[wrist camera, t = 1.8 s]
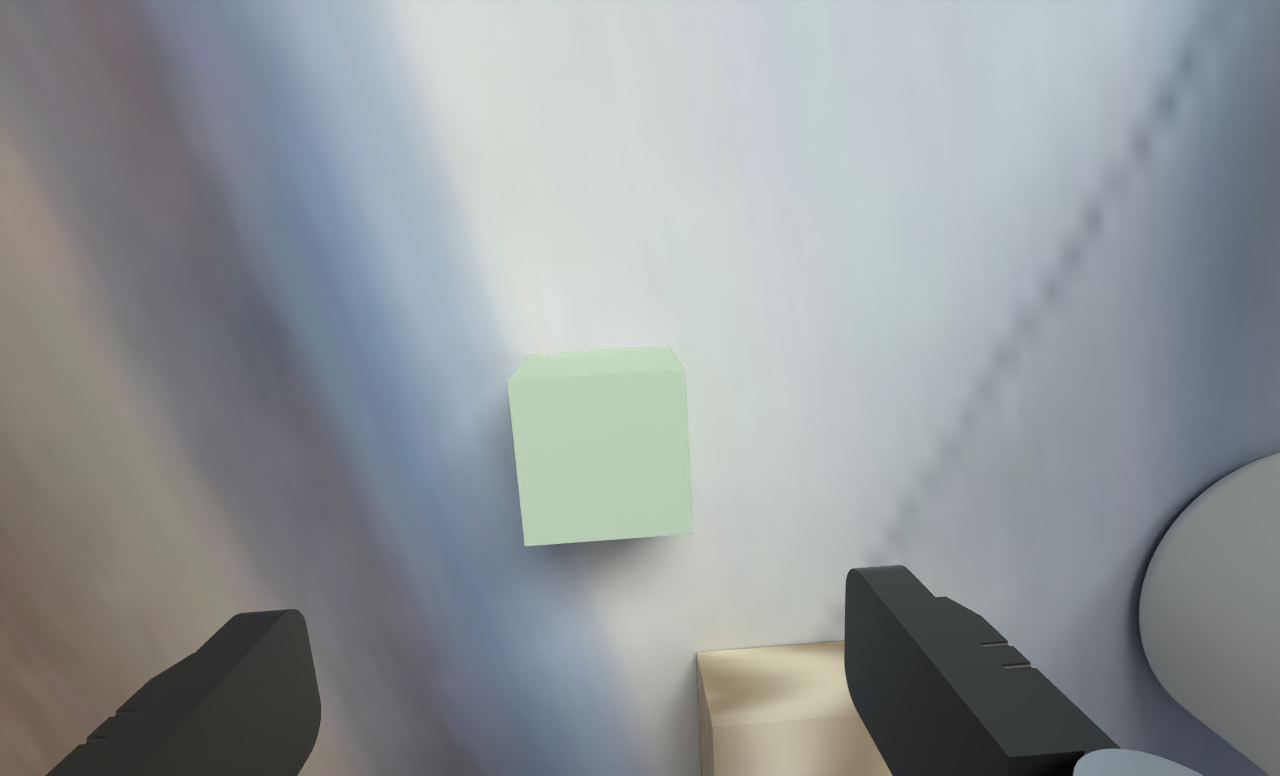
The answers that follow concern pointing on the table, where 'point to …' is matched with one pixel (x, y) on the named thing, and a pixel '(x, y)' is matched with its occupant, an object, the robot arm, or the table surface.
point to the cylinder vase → (1222, 610)
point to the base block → (781, 714)
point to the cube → (601, 445)
